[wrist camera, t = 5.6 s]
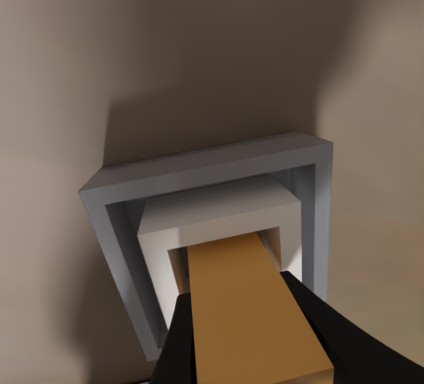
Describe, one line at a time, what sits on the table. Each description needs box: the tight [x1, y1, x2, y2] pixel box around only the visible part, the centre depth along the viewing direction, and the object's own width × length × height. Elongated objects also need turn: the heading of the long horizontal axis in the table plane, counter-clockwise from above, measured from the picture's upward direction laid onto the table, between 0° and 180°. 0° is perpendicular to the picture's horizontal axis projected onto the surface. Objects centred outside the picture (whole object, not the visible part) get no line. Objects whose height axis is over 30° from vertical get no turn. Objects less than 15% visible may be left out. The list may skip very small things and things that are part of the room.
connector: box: [187, 231, 334, 384], centre depth 10 cm, size 4×4×8 cm
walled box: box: [78, 131, 333, 362], centre depth 14 cm, size 11×11×4 cm
